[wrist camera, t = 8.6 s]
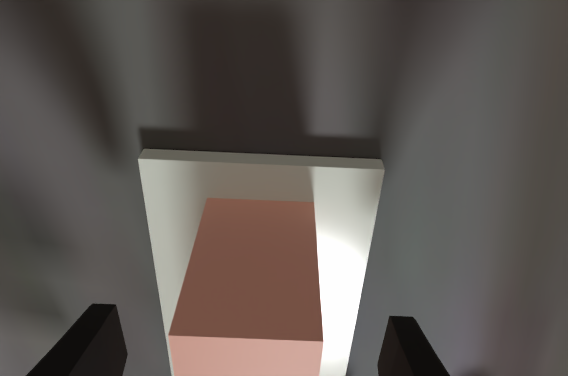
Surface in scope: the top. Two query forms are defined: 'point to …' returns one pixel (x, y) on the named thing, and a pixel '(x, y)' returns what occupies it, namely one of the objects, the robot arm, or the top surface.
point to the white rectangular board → (277, 187)
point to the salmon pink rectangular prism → (250, 293)
